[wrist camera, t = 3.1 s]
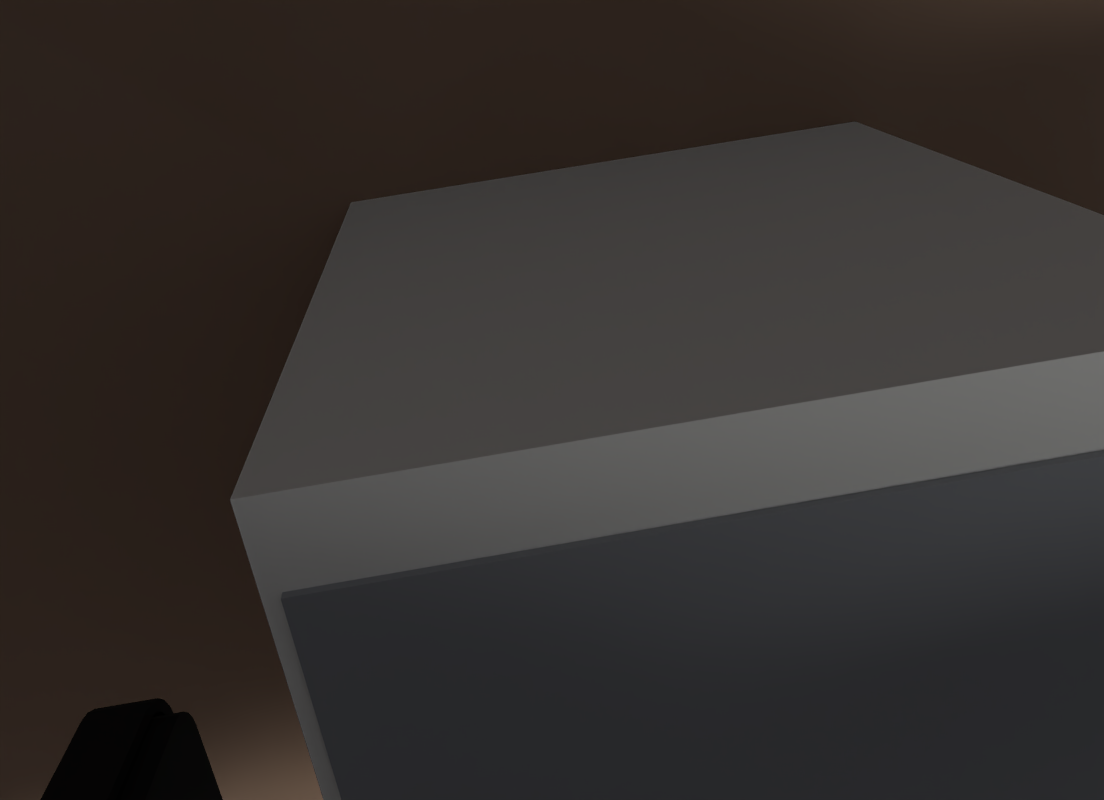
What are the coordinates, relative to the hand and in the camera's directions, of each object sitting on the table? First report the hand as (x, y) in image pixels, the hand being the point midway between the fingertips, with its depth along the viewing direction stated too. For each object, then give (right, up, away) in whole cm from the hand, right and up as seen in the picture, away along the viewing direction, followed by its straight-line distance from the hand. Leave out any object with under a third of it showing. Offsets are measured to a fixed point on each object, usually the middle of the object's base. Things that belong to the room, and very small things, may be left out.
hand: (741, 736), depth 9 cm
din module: (-1, +2, +3) cm, 3 cm away
